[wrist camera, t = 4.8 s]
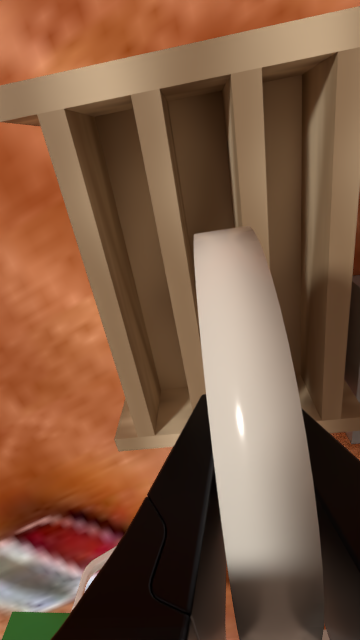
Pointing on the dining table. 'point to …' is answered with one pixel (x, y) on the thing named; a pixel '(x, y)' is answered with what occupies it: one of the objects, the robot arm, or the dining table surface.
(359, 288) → the stand
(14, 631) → the green cereal box
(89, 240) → the rack
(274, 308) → the plate
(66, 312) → the dining table surface
